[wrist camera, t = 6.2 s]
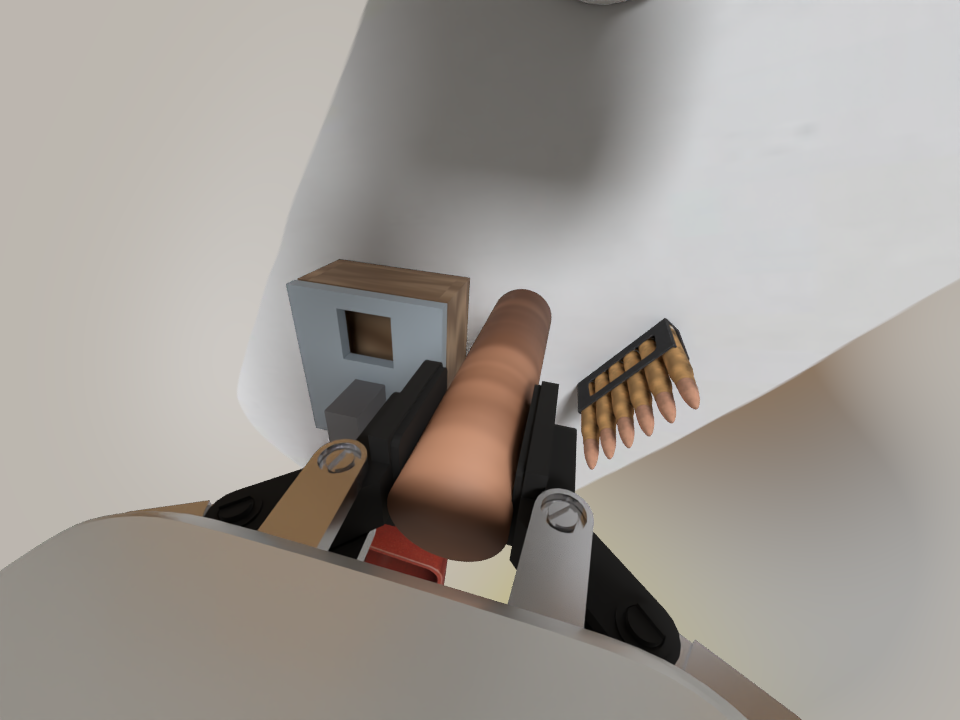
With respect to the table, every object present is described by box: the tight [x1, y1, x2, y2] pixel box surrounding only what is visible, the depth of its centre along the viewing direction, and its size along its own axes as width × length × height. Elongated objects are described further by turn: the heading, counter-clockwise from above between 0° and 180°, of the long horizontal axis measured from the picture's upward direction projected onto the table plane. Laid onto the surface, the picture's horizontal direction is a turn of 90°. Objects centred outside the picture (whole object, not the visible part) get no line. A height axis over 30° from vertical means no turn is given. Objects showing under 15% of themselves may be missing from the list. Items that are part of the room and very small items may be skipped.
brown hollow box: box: [298, 259, 470, 390], centre depth 39 cm, size 16×14×7 cm
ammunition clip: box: [578, 318, 700, 470], centre depth 31 cm, size 11×2×12 cm, turn 141°
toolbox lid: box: [286, 280, 447, 442], centre depth 33 cm, size 16×14×6 cm
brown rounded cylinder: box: [387, 289, 551, 562], centre depth 14 cm, size 3×3×12 cm
